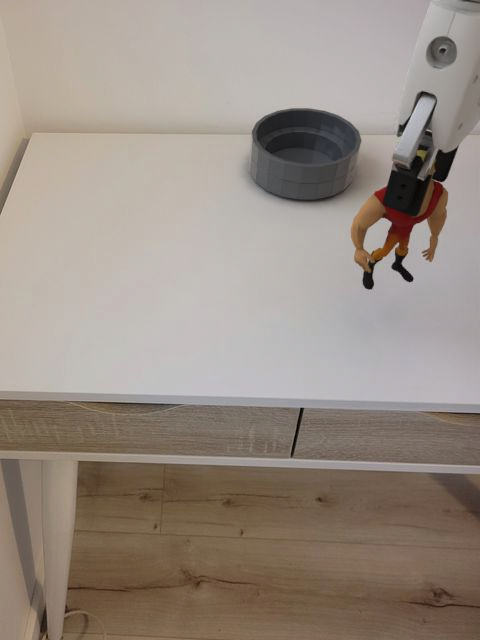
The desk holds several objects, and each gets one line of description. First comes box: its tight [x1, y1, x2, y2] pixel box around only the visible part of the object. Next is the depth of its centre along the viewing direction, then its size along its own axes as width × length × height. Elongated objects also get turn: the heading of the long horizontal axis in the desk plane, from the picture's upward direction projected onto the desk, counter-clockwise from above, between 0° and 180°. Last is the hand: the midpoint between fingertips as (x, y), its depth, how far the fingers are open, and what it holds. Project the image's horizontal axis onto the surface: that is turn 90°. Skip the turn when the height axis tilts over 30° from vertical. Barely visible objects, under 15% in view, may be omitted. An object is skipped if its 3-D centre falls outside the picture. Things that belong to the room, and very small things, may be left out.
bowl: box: [248, 107, 362, 200], centre depth 83 cm, size 14×14×6 cm
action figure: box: [350, 150, 449, 291], centre depth 57 cm, size 10×4×15 cm, turn 102°
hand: (415, 190), depth 55 cm, fingers closed on action figure, 5 cm apart
